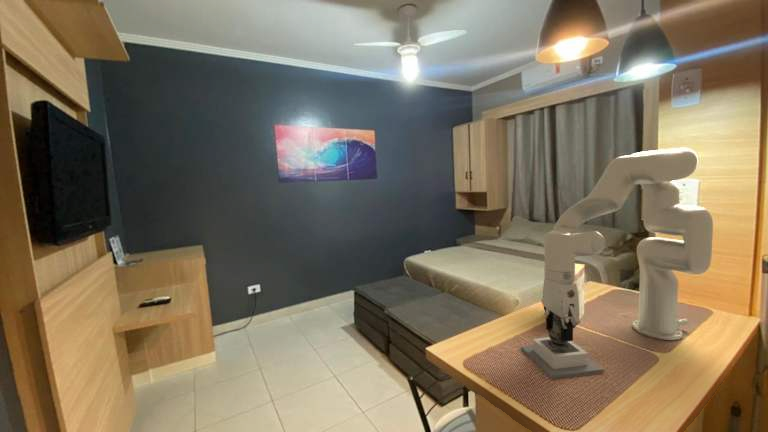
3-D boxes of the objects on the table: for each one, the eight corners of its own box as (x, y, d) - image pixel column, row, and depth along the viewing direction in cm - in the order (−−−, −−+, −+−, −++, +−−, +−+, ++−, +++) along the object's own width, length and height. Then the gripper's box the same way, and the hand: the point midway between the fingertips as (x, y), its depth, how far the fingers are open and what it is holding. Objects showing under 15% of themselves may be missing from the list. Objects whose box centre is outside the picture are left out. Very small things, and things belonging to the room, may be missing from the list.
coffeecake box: (564, 309, 124) (564, 261, 122) (585, 313, 120) (585, 264, 117) (552, 322, 114) (552, 271, 112) (575, 328, 109) (575, 274, 107)
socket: (565, 344, 99) (565, 331, 99) (603, 372, 84) (603, 357, 84) (520, 349, 98) (520, 335, 97) (551, 379, 83) (551, 363, 82)
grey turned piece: (573, 350, 87) (574, 309, 86) (551, 349, 88) (551, 309, 87) (566, 340, 93) (566, 301, 91) (544, 339, 94) (544, 300, 93)
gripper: (595, 283, 80) (593, 349, 82) (552, 265, 97) (552, 320, 99) (567, 285, 79) (567, 352, 81) (529, 267, 96) (529, 323, 98)
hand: (558, 334), depth 90 cm, fingers closed on grey turned piece, 5 cm apart
